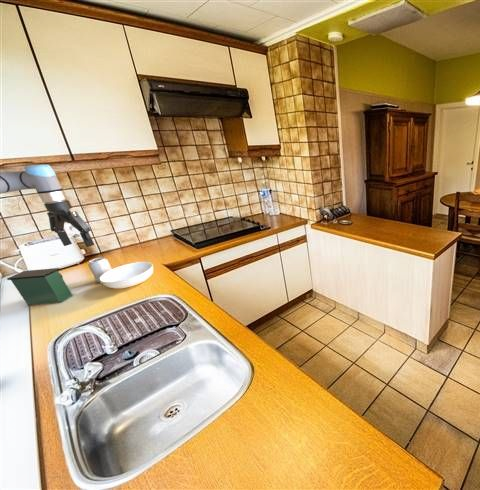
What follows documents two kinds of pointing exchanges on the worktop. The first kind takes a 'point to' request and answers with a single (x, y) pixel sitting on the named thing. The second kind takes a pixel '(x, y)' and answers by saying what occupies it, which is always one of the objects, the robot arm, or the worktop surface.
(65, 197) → the robot arm
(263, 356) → the worktop surface
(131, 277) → the serving bowl
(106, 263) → the can
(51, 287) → the box
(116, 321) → the worktop surface
